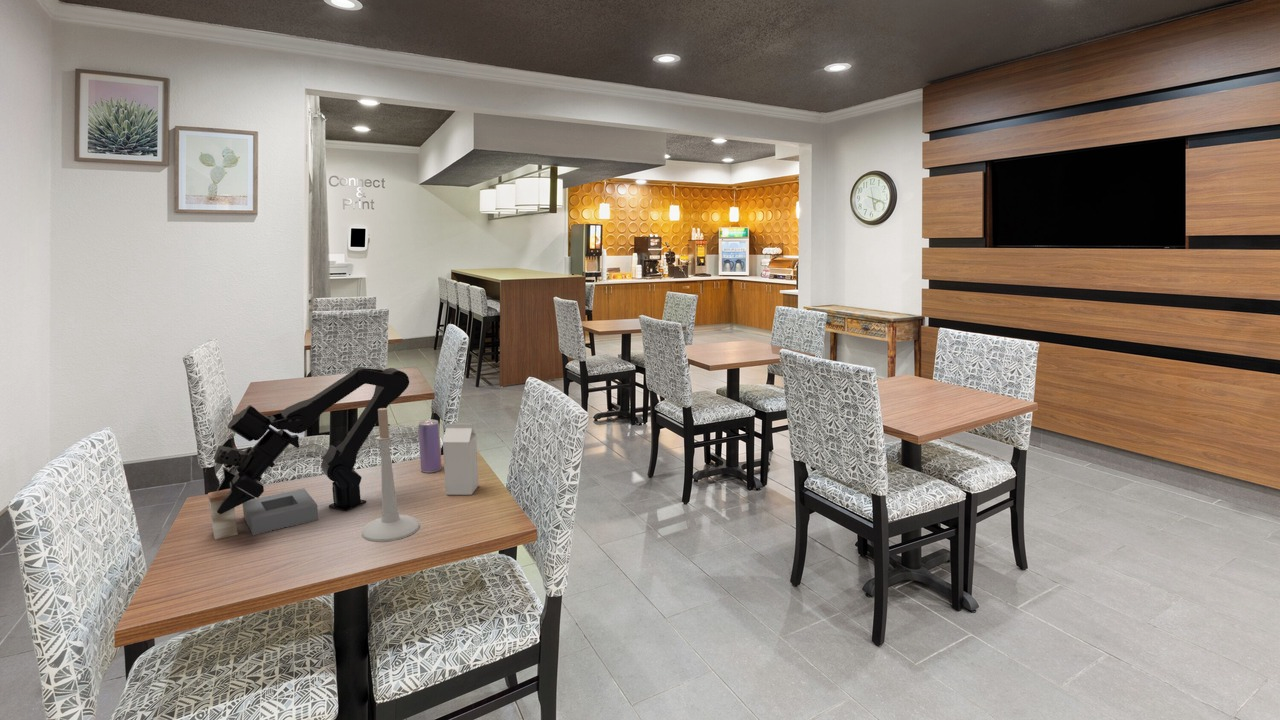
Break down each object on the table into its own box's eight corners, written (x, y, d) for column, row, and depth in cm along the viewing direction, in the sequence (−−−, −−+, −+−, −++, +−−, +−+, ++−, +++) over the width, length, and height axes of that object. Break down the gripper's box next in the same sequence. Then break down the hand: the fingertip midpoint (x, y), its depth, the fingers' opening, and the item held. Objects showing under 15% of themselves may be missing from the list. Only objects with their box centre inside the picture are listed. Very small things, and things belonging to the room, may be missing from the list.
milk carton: (471, 495, 173) (468, 427, 170) (445, 495, 173) (441, 427, 170) (478, 485, 180) (475, 420, 177) (453, 485, 180) (450, 420, 177)
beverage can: (435, 474, 189) (432, 425, 187) (417, 472, 191) (414, 424, 188) (445, 467, 195) (442, 419, 193) (427, 466, 196) (424, 419, 194)
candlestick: (396, 545, 144) (387, 415, 139) (349, 537, 147) (338, 411, 142) (430, 522, 156) (423, 402, 151) (386, 516, 159) (377, 399, 154)
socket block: (305, 502, 168) (304, 488, 167) (318, 519, 157) (317, 504, 157) (243, 516, 159) (242, 501, 159) (253, 535, 149) (251, 519, 148)
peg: (234, 528, 153) (230, 488, 151) (237, 534, 149) (232, 493, 148) (213, 533, 150) (208, 492, 148) (215, 539, 147) (210, 498, 145)
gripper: (230, 424, 156) (180, 477, 150) (241, 442, 141) (186, 501, 136) (269, 449, 162) (223, 501, 157) (284, 468, 147) (233, 526, 142)
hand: (216, 506), depth 148 cm, fingers open, 9 cm apart
